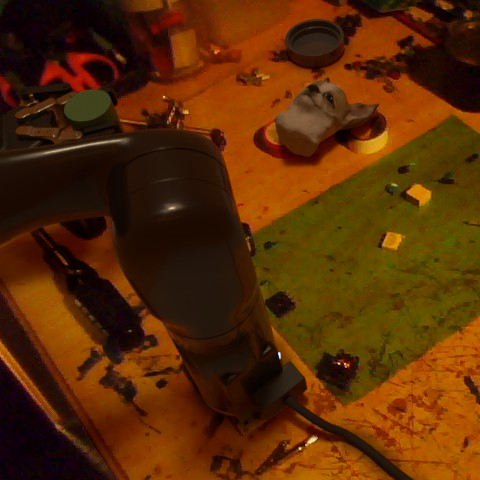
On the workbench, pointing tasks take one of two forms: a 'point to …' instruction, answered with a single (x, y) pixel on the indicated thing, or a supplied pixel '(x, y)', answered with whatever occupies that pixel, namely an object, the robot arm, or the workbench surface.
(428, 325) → the workbench surface
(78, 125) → the green can
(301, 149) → the ceramic sculpture
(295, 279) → the workbench surface
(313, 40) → the dark grey jar lid
